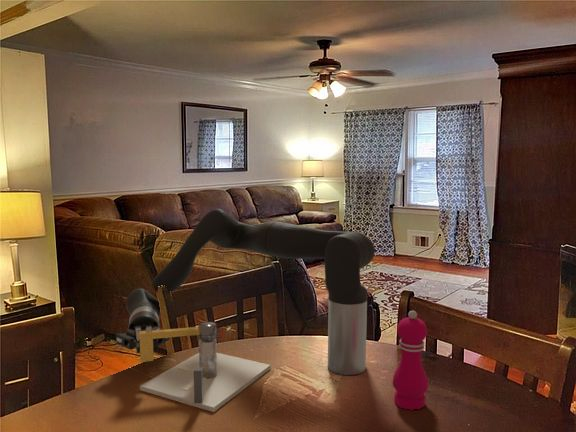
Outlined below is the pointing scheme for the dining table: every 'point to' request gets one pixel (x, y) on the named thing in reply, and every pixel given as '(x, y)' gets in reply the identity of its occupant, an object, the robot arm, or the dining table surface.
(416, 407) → the pepper mill
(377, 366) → the dining table surface
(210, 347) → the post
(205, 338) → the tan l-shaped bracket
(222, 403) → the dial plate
